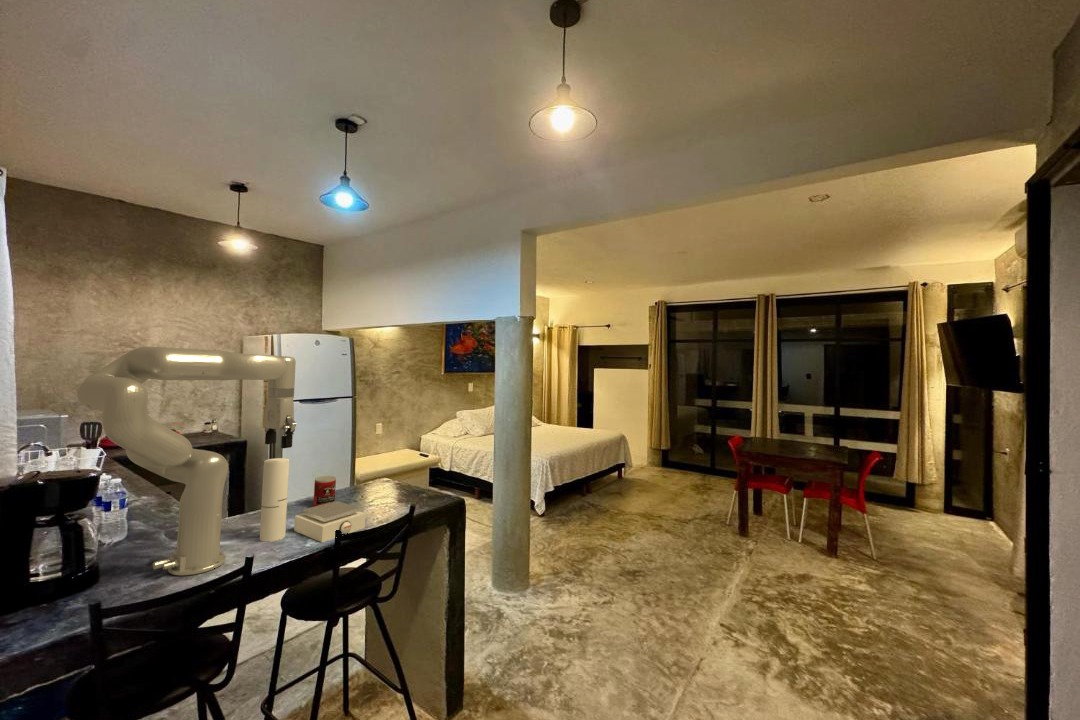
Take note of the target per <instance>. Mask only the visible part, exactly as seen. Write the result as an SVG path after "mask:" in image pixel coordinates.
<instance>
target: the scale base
mask: <svg viewBox="0 0 1080 720" xmlns="http://www.w3.org/2000/svg"><path fill="white" fill-rule="evenodd" d="M366 515H367V514H366V512H365V513H364V512H362V511H359V512H356V513H353V514H349V515H346V516H343V517H340V518H336V519H333V520H330V521H326V522H323V521H321V520H318V519H315V518H313V517H310V516H307V515H305V514H302V513H301V514H298V515H295V516H294V523H293V525H294V526H293V531H294V532H296V533H299V534H301V535H303V536H305V537H308V538H310V539H313V540H315V541H317V542H320V543H324V542H329V541H330V540H333V539H335V531H336V530H340V531H341V532H342V533H343V534H345V535H347V533H348V534H351V533H354V532H357V531H360V530H362V529H365V528H366Z"/></svg>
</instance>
